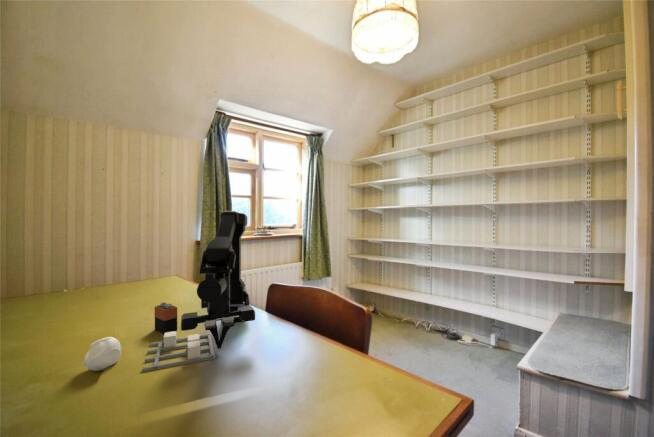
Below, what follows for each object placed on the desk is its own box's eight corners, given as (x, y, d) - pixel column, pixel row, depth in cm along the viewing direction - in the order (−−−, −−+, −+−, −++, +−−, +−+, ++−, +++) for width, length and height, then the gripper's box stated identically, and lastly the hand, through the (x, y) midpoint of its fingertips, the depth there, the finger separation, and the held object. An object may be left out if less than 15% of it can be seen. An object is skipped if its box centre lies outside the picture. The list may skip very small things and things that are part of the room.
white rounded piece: (84, 366, 77) (84, 336, 77) (120, 358, 81) (120, 330, 81) (83, 380, 70) (83, 348, 70) (122, 370, 75) (122, 339, 75)
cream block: (199, 353, 81) (199, 340, 81) (200, 358, 78) (200, 345, 78) (187, 355, 80) (187, 342, 80) (187, 361, 77) (187, 347, 77)
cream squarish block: (176, 342, 88) (176, 331, 88) (175, 347, 85) (175, 335, 85) (164, 344, 87) (164, 332, 87) (163, 349, 83) (163, 337, 83)
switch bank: (210, 339, 93) (210, 333, 93) (214, 363, 79) (214, 355, 79) (143, 350, 85) (143, 343, 85) (134, 378, 71) (134, 370, 71)
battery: (164, 338, 94) (164, 307, 94) (154, 333, 98) (153, 303, 98) (178, 334, 97) (177, 303, 97) (167, 329, 101) (167, 300, 101)
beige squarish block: (199, 345, 86) (199, 333, 86) (199, 351, 83) (199, 338, 83) (187, 347, 85) (187, 335, 85) (187, 353, 81) (187, 340, 81)
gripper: (248, 282, 93) (248, 332, 93) (181, 288, 85) (181, 342, 85) (255, 290, 83) (255, 346, 83) (180, 298, 75) (181, 360, 75)
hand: (219, 348), depth 82 cm, fingers closed
